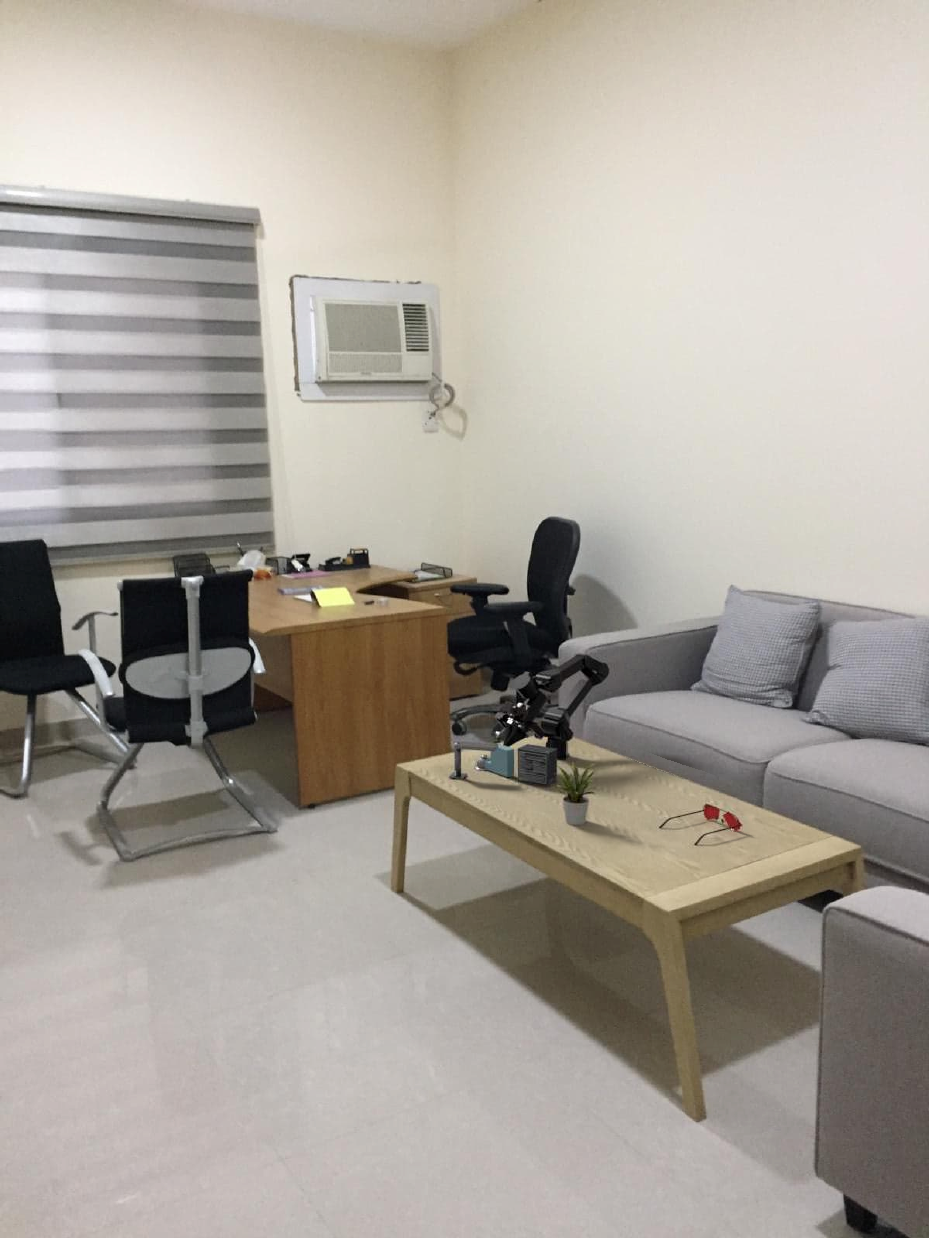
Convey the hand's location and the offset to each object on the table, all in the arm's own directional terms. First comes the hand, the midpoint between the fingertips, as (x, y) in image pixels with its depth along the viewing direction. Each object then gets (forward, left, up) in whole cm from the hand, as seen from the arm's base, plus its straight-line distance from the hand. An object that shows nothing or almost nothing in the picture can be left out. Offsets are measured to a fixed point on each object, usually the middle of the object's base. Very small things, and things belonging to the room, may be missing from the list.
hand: (504, 747), depth 311 cm
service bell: (+7, -2, -8) cm, 11 cm away
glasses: (-61, +36, -8) cm, 72 cm away
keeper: (+7, +9, -8) cm, 14 cm away
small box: (-12, +7, -8) cm, 16 cm away
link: (+3, +1, -7) cm, 8 cm away
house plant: (-30, +37, -8) cm, 49 cm away
